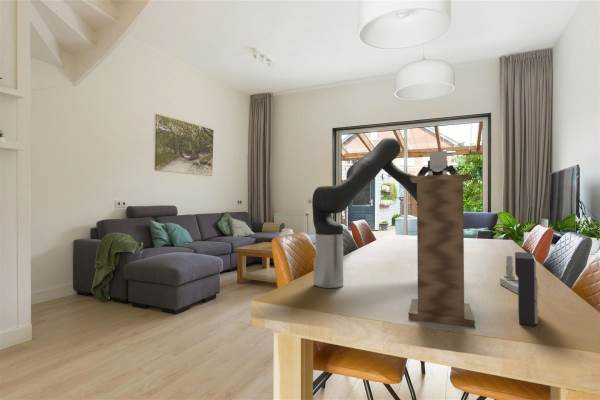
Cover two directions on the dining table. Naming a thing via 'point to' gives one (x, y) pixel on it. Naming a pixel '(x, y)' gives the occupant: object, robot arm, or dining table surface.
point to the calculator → (527, 288)
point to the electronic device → (509, 276)
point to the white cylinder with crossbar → (438, 160)
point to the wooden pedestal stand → (440, 251)
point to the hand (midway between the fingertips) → (437, 161)
